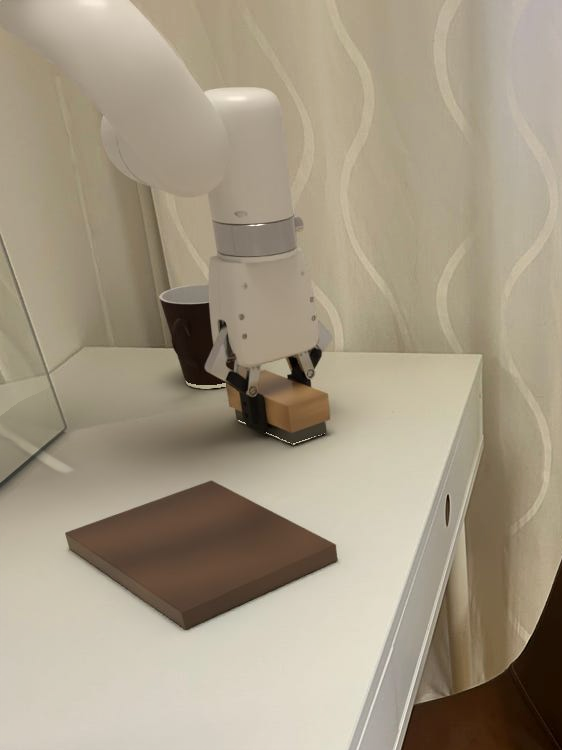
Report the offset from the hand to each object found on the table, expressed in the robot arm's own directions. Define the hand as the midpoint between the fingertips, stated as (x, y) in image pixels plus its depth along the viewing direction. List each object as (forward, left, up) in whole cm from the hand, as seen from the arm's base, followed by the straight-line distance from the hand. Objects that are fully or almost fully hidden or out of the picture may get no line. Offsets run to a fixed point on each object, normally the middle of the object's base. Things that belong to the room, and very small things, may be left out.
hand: (280, 420), depth 102 cm
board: (+18, -21, -1) cm, 28 cm away
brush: (0, 0, -1) cm, 1 cm away
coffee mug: (-18, +2, -1) cm, 18 cm away
